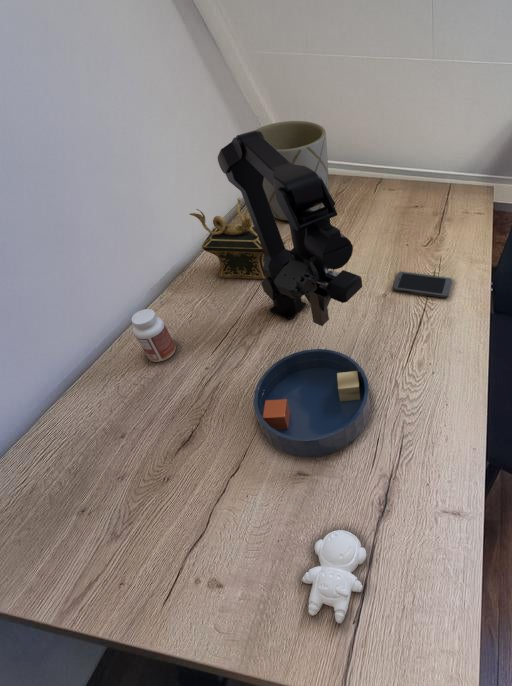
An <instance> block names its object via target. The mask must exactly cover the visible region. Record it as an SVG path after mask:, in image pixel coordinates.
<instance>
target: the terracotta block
mask: <svg viewBox="0 0 512 686" xmlns="http://www.w3.org/2000/svg"><path fill="white" fill-rule="evenodd" d="M289 416H290V410H289V406H288V403H287V399H281V400H266V401H265V406H264V412H263V419H264V420H265V422H266V423H267V424H268V425H269V426H270V427H272V428H273V429H275V430H284V429H288V425H289Z"/></svg>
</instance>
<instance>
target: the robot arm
mask: <svg viewBox="0 0 512 686" xmlns="http://www.w3.org/2000/svg"><path fill="white" fill-rule="evenodd" d="M255 130H256V129H254V130H251V131H247V132H243V133H240V134H237V135H236V136H235V137H233V138H232V140H231V141H230V142H229V143H228V144H227V145H224V147H222V148H221V149H220V151H219V153H218V155H217V162H218V165H219V168H220V170H221V171H222V173H223V174H225V176H226V178H227V180H228V182H229V183H230V184H232V185H233V186H234V187H235V188H236V189H238V190H239V191H240V193H241V195H242V197H243V201H244V203H245V206H246V209H247V211H248V214H250V216H251V223H252V224H253V226H254V227H255V230H256V232H257V235H258V237H259V240H260V243H261V245H262V248H263V251H264V253H265V261H264V267H263V271H264V274H265V277H266V278H265V279H262V281H261V282H260V284H261V288H262V291H263V292H264V293H265V294H266V296H267V297H268V298H269V299H270V300H271V301H272V302H273V306H272V307H271V308H270V309H269V311H270V312H271V313H272V314H275V315H276V316H279V317H281V318H283V319H285V320H287V321H291V320H292V319H293V318H295V317H296V316H297V315H298V314H300V312H301V311H302V310H303V309H305V308H306V307H307V303H306V302H304V301H302V297H303V296H305V298H306V300H307V302H308V303H309V304H310V298H309V295H310V293H311V292H312V290H313V289H314V288H315V283H316V282H317V283H320V287H319V288H317V289H316V290H315V291H314V292H313V293H315V294H317V295H319V300H320V305H321V308H322V311H325V310H326V309H327V307H328V308H329V304H330V302H331V300H334V301H336V302H338V303H342V304H344V303H347V302H348V301H350V300H351V299H352V298H353V297H354V296H355V295H356V294H357V292H359V291H361V289H362V288H363V280H362V279H363V278H362V276H361V275H358V274H355V273H353V272H350V271H348V270H345V269H342V270H341V271H340V272H338V271H336V270H339V269H341V268H343V267H344V266H345V265H347V264H348V262H349V261H350V259H352V256H353V252H354V245H353V244H352V241H351V240H350V239H349V238H348V237H346V236H345V235H344V234H342V233H341V230H340V229H339V228H338V227H336V226H334V225H332V223H331V219H332V218H335V217H337V216H338V212H337V210H336V207H335V206H336V202H335V200H334V198H333V196H332V195H331V193H330V190H329V191H328V189H327V187H326V185H325V183H324V182H323V180H322V178H321V177H320V176H318V174H317V173H316V172H314V171H313V170H311V169H309V168H308V167H306V166H302V165H294V164H292V163H290V162H289V161H288V160H287V159H286V158H285V157H284V156H282V155H281V154H280V153H279V152H278V151H277V150H276V149H275V148H274V147H273V146H271V145H270V144H269V143H268V142H267V141H266V140H265V139H264V136H263V135H262V133H261V132H260V131H255ZM264 177H265V178H266V179H267V180H268V181H269V182H270V183H271V184H272V185H273V187H274V188H275V194H276V200H277V202H278V204H279V206H280V207H281V209H282V211H283V212H284V214H285V216H286V217H287V219H288V221H287V222H288V224H289V231H290V235H291V241H292V249H287V248H286V246H285V244H284V243H285V242H284V241H283V238H282V235H281V233H280V229H279V227H278V223H277V221H276V218H275V217H274V215H273V213H272V210H271V207H270V204H269V202H268V199H267V196H266V193H265V190H264V188H263V180H264ZM322 203H323V205H324V206H325V207H323V208H320V209H318V210H315V211H314V210H313V209H311V208H312V207H315V206H318V205H320V204H322Z"/></svg>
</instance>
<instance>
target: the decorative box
mask: <svg viewBox="0 0 512 686" xmlns="http://www.w3.org/2000/svg"><path fill="white" fill-rule="evenodd" d="M243 201H244V199H242V198H241V197H238V198H237V207H236V213H237V215H238V218H240V220H241V224H239V223H232V224H227V222H226V220H225V219H224V217H222V216H221V215H215V216H214V217H213V219H212V224H213V226H214V227H215V228H213V229H212V230H211V229H210V228H209V227H208V226H207V224H206V215H205V214H204V212H203V211H201V210H200V209H198V208H196V210H197V211H198V212H199V213H195V212H190V213H189V214H188V215H190V216H193V217H195V218H197V219H198V220H199V222H200V223H201V225H202V227H203V228H204V229H205V230H206V231H207V232H208V233H209V234H208V236H207V237H206V239H205V240H204V241H203V242H202V244H201V247H202V249H203V250H204V251H205V252H207V253H209V254H212V255H214V256H216V258H217V259H218V261H219V272H218V276H219V277H220V278H228V279H229V278H231V279H251V280H252V279H253V280H255V279H258V280H264V279H265V278H266V277H265V274H264V271H263V267H264V261H265V253H264V251H263V248H262V245H261V243H260V240H259V237H258V235H257V232H256V230H255V227H254V225H252V219H251V216H250V214H249V213H247V214H245V216H244V215H243V214H242V213H241V204H242V202H243Z"/></svg>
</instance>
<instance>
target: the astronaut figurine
mask: <svg viewBox="0 0 512 686" xmlns="http://www.w3.org/2000/svg"><path fill="white" fill-rule="evenodd" d="M314 553H315V554H316V555H317V558H318V561H319V565H317V566H314V567H312V568H309V569H308V571H306V572H305V573H304V575H303V577H302V578H301V581H302V582H303V584H307V585H312V586H311V589H310V594H309V598H308V606H307V607H308V610H307V611H308V614H309V615H310V616H316V615H317V614H318V612H319V611H320V610H321V608H322V607H323V605H326V606H328V607H333V612H334V618H335V622H336V623H337V624H343V622H344V621H345V617H346V616H347V613H348V609H349V604H350V601H351V596H352V592H354V593H361V592H362V591H363V589H364V587H363V585H362V582H361V580H359V579H358V577H357V576H356V575H354V574H353V572H354V571H355V570H356V569H357V568H358V566H359V565H363V564H364V563H365V561H366V558H367V550H366V549H365V547H362V543H361V541H360V539H359V538H358V537H357V536H356V535H355V534H354V533H351V532H350V531H347V530H343V529H337V530H333V531H331V532H329V533H327V534H326V535H325V536H324V537H323V539H322V538H319V539H318V540H317V541H316V542H315V545H314Z"/></svg>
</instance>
